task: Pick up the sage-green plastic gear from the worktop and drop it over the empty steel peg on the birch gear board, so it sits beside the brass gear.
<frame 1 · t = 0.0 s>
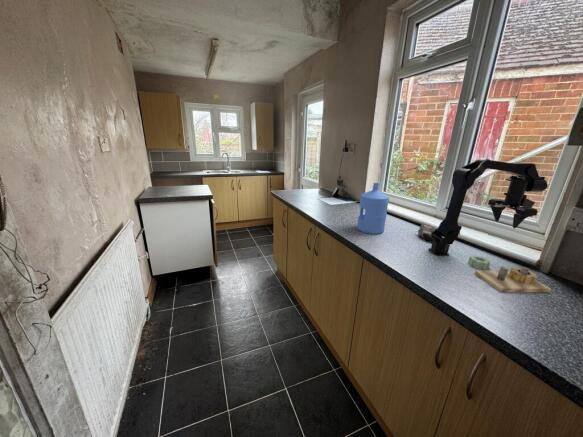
hand: (505, 224, 109), 15 cm above the countertop, tool pointing down, fingers open, 9 cm apart
green gear: (478, 265, 101), on the countertop
gear board: (509, 282, 89), on the countertop
brass gear: (521, 279, 89), resting on gear board
water jug: (370, 229, 141), on the countertop
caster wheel: (428, 239, 129), on the countertop
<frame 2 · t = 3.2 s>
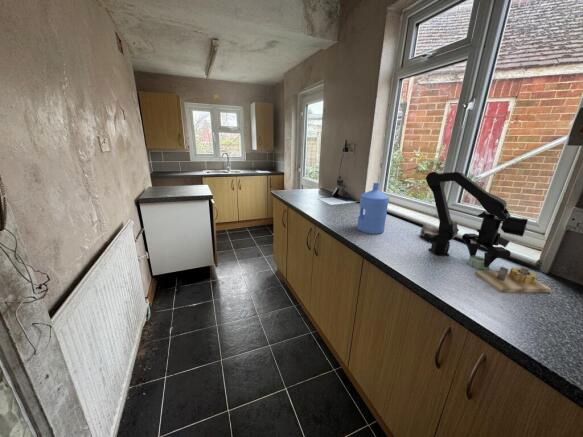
hand: (478, 262, 101), 1 cm above the countertop, tool pointing down, fingers closed on green gear, 7 cm apart
green gear: (478, 265, 101), on the countertop, touching gripper
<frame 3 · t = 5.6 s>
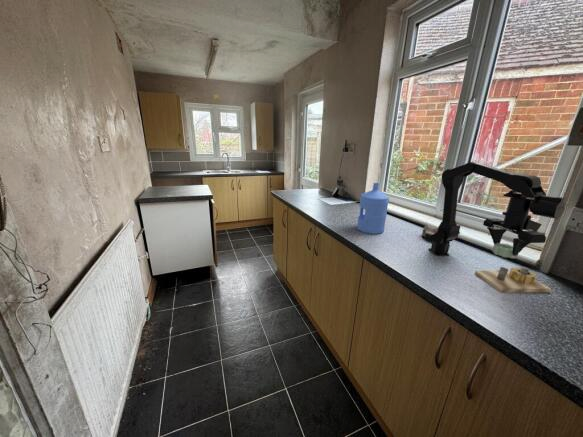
hand: (505, 251, 88), 12 cm above the countertop, tool pointing down, fingers closed on green gear, 7 cm apart
green gear: (504, 253, 88), point 11 cm above the countertop, touching gripper
when the fingers open (4 cm above the countertop, at t = 8.1 s): green gear drops 1 cm, resting on gear board.
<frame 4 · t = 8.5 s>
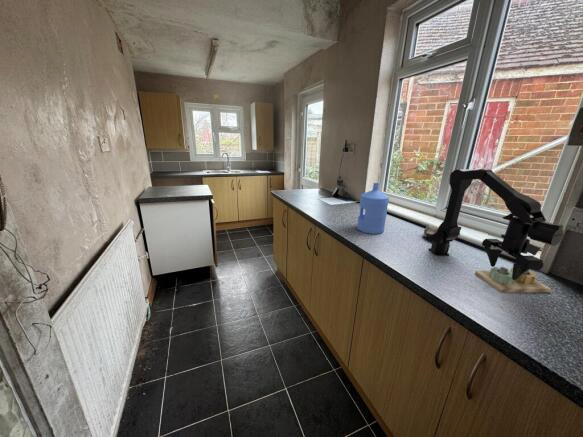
hand: (502, 272, 88), 4 cm above the countertop, tool pointing down, fingers open, 9 cm apart
green gear: (500, 278, 89), point 1 cm above the countertop, touching gear board
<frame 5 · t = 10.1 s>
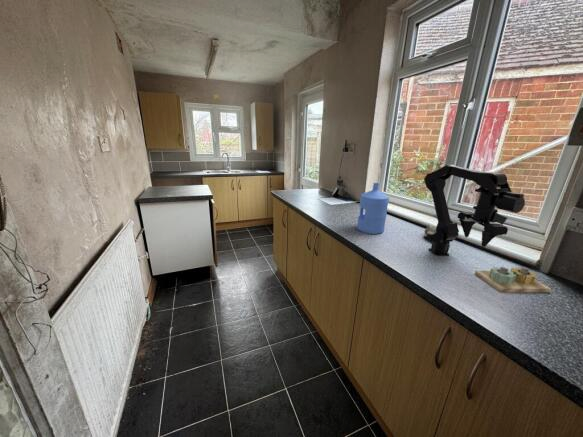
hand: (474, 241, 96), 12 cm above the countertop, tool pointing down, fingers open, 9 cm apart
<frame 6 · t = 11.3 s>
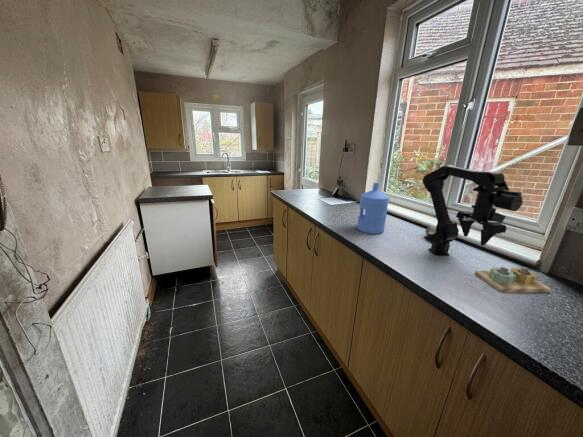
hand: (473, 240, 97), 12 cm above the countertop, tool pointing down, fingers open, 9 cm apart
at the end: green gear 0.1 cm from the target spot on the gear board, point 1.5 cm above the gear board's base; the gripper is holding nothing; green gear tilted 0° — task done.
